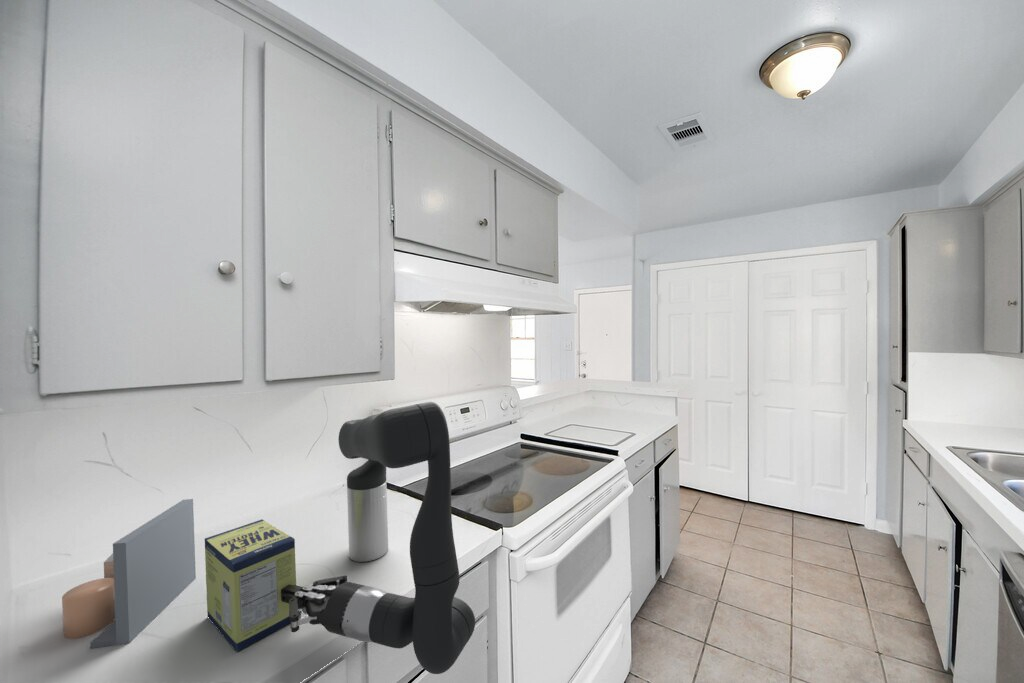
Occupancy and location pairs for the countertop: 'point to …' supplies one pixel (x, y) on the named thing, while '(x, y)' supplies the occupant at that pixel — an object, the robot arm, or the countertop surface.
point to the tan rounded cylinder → (88, 608)
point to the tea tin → (109, 568)
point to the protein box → (249, 581)
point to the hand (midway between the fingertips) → (284, 592)
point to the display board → (150, 572)
